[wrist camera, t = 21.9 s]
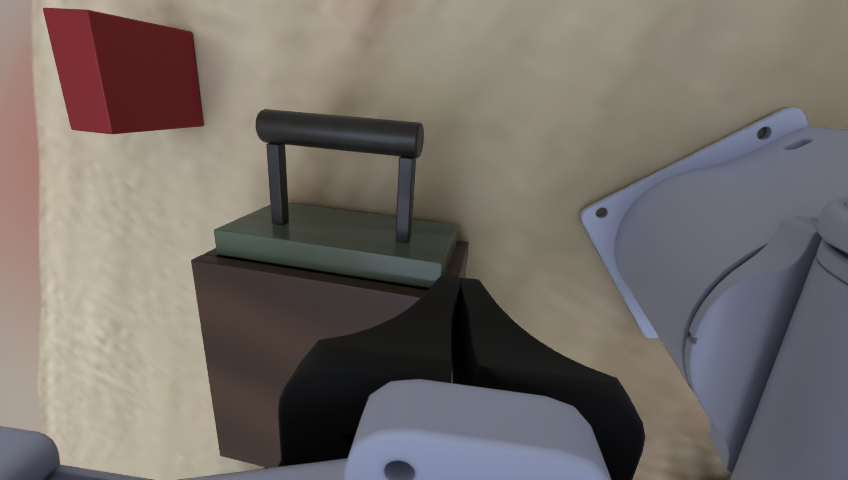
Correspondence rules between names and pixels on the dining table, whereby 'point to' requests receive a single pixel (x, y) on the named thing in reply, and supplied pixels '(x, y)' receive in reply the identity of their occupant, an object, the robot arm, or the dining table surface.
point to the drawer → (341, 229)
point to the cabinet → (278, 336)
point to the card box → (123, 72)
